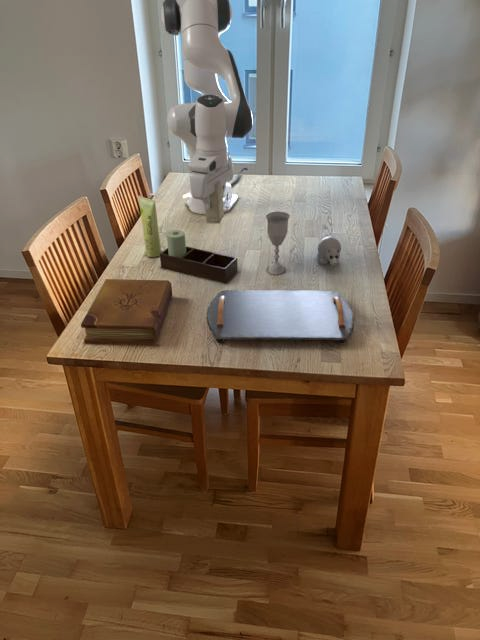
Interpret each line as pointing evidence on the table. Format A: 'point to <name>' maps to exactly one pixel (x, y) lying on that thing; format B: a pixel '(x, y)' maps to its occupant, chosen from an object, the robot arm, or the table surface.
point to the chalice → (277, 236)
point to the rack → (201, 264)
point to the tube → (150, 226)
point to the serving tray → (280, 315)
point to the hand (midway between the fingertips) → (214, 203)
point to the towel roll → (176, 243)
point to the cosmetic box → (215, 206)
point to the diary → (128, 312)
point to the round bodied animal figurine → (329, 251)
